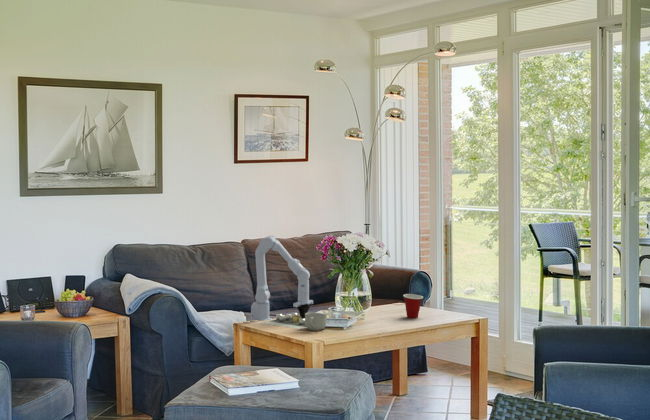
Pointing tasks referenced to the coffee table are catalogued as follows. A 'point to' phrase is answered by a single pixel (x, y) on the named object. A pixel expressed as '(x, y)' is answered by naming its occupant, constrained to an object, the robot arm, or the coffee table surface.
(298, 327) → the mat
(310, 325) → the teacup
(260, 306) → the robot arm
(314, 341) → the coffee table surface
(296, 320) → the nut
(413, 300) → the plastic cup
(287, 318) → the spacers
